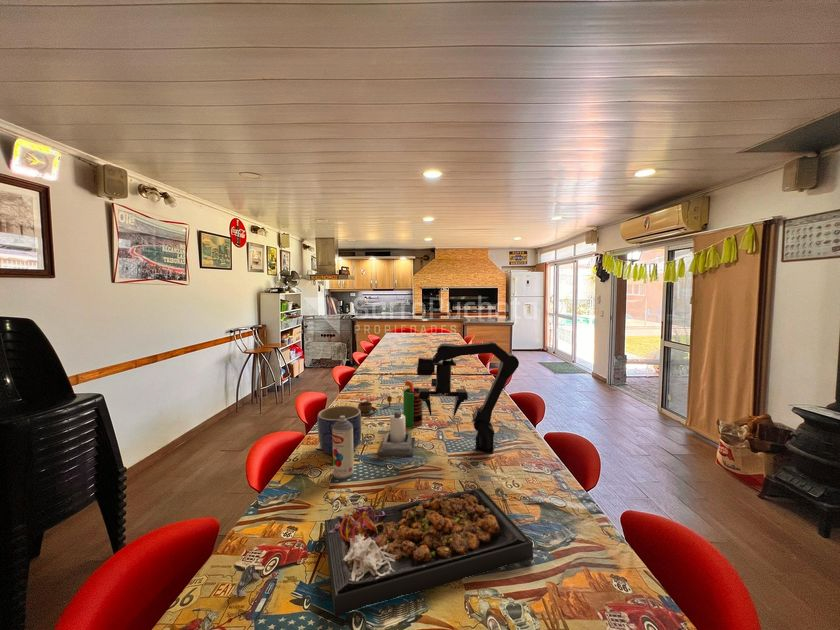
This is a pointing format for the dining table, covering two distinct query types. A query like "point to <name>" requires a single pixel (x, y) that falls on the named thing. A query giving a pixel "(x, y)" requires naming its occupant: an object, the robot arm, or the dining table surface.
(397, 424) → the white bottle
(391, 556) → the food platter
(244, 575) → the toy shark
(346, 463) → the aerosol can
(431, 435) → the dining table surface
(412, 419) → the motor
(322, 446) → the planter
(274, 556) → the dining table surface
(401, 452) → the grey square tray
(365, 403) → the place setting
